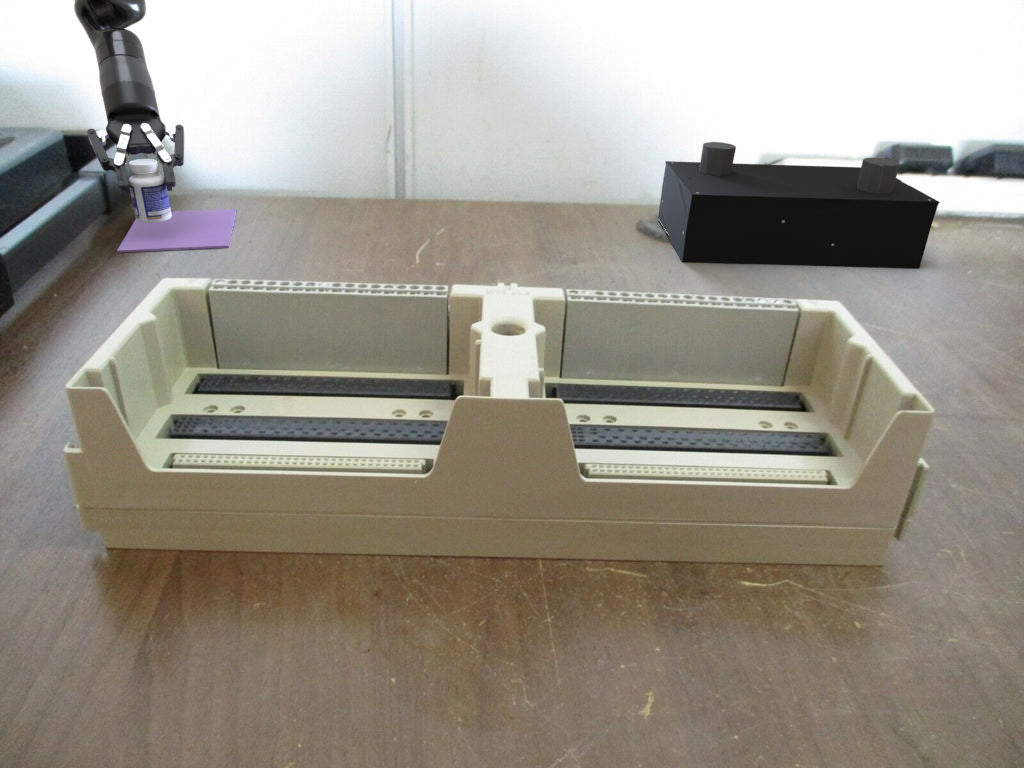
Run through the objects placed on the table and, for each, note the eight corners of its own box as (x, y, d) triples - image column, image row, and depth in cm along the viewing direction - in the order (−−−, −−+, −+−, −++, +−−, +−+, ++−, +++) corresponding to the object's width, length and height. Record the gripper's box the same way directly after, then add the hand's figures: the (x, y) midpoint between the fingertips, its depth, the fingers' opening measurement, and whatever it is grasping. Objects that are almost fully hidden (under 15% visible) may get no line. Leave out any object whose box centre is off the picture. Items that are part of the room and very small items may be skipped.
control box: (681, 261, 120) (696, 165, 113) (655, 216, 141) (665, 132, 134) (919, 268, 121) (948, 172, 114) (856, 222, 142) (878, 139, 135)
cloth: (117, 253, 116) (116, 250, 116) (140, 214, 133) (139, 212, 132) (228, 247, 119) (228, 245, 119) (236, 211, 136) (236, 208, 136)
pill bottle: (178, 215, 123) (168, 159, 119) (161, 225, 118) (150, 167, 114) (147, 212, 123) (136, 156, 119) (128, 221, 119) (117, 164, 114)
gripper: (72, 80, 114) (92, 180, 110) (176, 77, 119) (198, 172, 116) (81, 111, 121) (100, 206, 117) (179, 107, 126) (199, 198, 123)
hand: (149, 189), depth 117 cm, fingers closed on pill bottle, 5 cm apart
